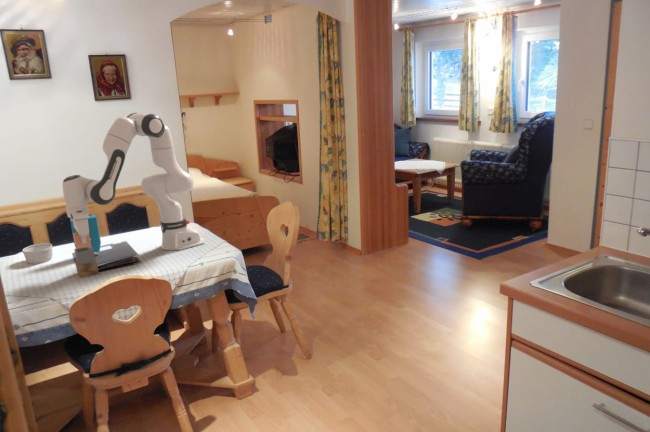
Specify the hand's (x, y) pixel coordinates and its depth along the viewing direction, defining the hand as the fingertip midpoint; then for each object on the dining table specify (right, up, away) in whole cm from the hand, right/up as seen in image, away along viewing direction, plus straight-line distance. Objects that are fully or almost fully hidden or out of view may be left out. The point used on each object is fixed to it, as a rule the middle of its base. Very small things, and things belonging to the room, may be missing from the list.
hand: (82, 241), depth 233 cm
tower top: (0, -9, +2) cm, 10 cm away
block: (-10, -9, +29) cm, 32 cm away
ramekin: (-34, -11, +26) cm, 44 cm away
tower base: (0, -15, +4) cm, 16 cm away
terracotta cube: (0, -2, 0) cm, 2 cm away
